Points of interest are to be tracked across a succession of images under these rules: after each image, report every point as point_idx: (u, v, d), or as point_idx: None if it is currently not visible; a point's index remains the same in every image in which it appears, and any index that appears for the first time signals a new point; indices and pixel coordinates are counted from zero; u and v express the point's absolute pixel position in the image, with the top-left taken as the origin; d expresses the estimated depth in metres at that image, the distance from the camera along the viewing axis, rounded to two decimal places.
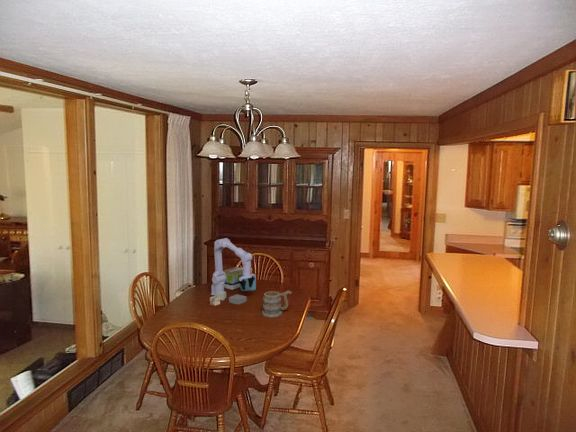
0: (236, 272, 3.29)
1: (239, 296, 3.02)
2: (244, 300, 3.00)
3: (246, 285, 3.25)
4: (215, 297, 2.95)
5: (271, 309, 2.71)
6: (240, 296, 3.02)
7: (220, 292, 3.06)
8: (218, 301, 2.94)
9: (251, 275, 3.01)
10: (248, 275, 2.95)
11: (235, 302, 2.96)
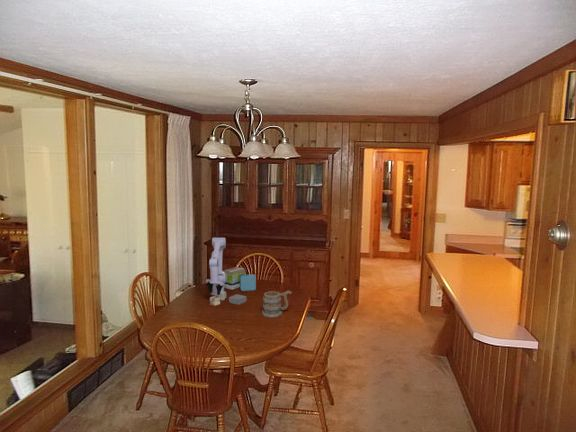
0: (236, 272, 3.29)
1: (239, 296, 3.02)
2: (244, 300, 3.00)
3: (246, 285, 3.25)
4: (215, 297, 2.95)
5: (271, 309, 2.71)
6: (240, 296, 3.02)
7: (220, 292, 3.06)
8: (218, 301, 2.94)
9: (218, 282, 2.90)
10: (210, 280, 2.92)
11: (235, 302, 2.96)
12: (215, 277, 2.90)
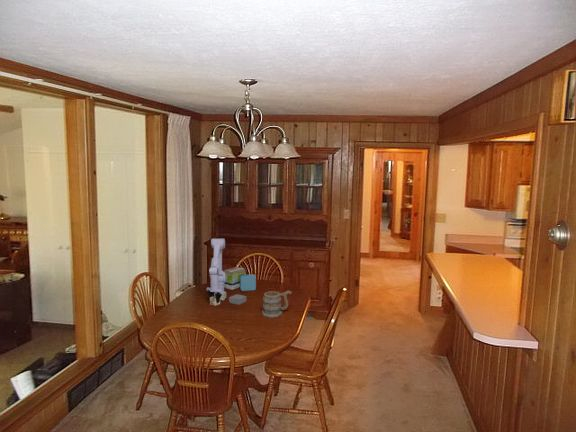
0: (236, 272, 3.29)
1: (239, 296, 3.02)
2: (244, 300, 3.00)
3: (246, 285, 3.25)
4: (215, 297, 2.95)
5: (271, 309, 2.71)
6: (240, 296, 3.02)
7: None
8: None
9: None
10: (211, 288, 2.92)
11: (235, 302, 2.96)
12: (215, 285, 2.91)
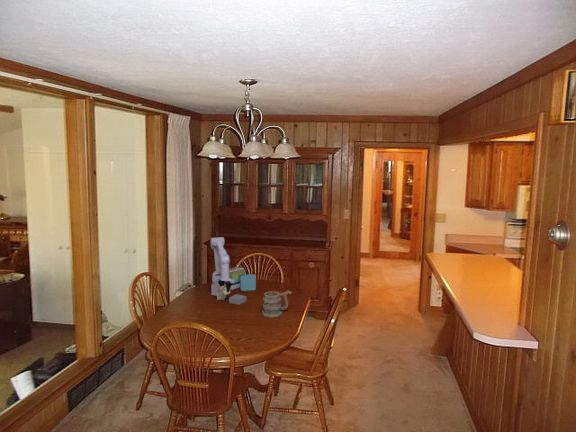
0: (236, 272, 3.29)
1: (239, 296, 3.02)
2: (244, 300, 3.00)
3: (246, 285, 3.25)
4: (225, 286, 2.96)
5: (271, 309, 2.71)
6: (240, 296, 3.02)
7: None
8: None
9: None
10: (221, 277, 2.94)
11: (236, 302, 2.96)
12: (226, 274, 2.92)
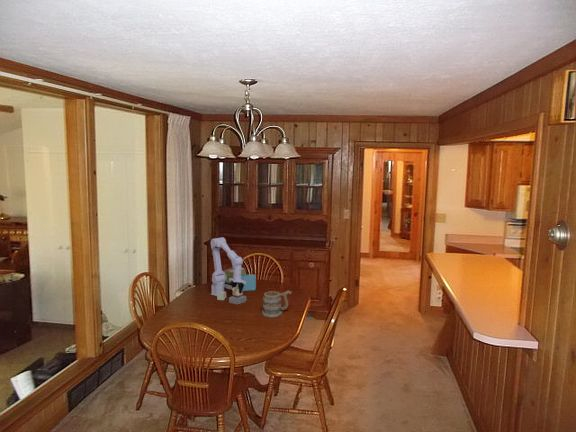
0: None
1: (239, 296, 3.02)
2: (244, 300, 3.00)
3: (246, 285, 3.25)
4: (238, 287, 2.99)
5: (271, 309, 2.71)
6: (240, 296, 3.02)
7: (220, 292, 3.06)
8: None
9: None
10: (233, 278, 2.97)
11: (236, 302, 2.95)
12: (238, 276, 2.95)
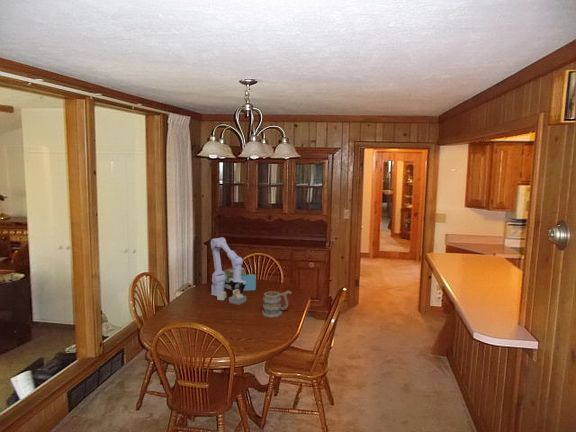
0: None
1: None
2: (244, 300, 3.00)
3: (246, 285, 3.25)
4: (238, 290, 2.99)
5: (271, 309, 2.71)
6: None
7: (220, 292, 3.06)
8: (241, 294, 2.99)
9: None
10: (233, 279, 2.97)
11: (236, 302, 2.95)
12: (238, 276, 2.95)
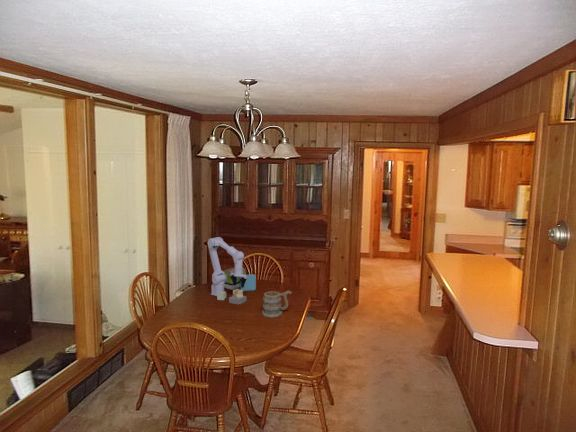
0: None
1: None
2: (244, 300, 3.00)
3: (246, 285, 3.25)
4: (238, 290, 2.99)
5: (271, 309, 2.71)
6: None
7: (220, 292, 3.06)
8: (241, 294, 2.99)
9: (242, 276, 2.98)
10: (235, 273, 3.00)
11: (236, 302, 2.96)
12: (239, 270, 2.98)
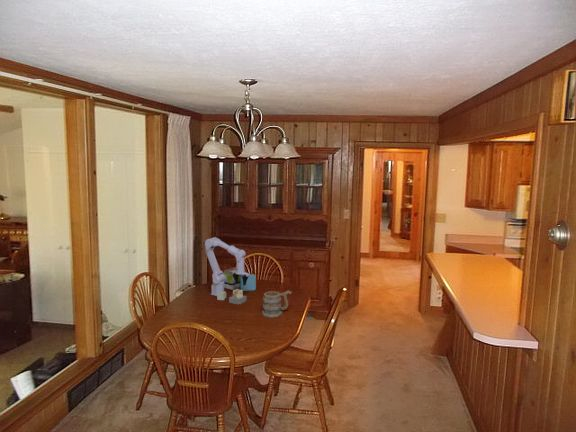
0: None
1: None
2: (244, 300, 3.00)
3: (246, 285, 3.25)
4: (238, 290, 2.99)
5: (271, 309, 2.71)
6: None
7: (220, 292, 3.06)
8: (241, 294, 2.99)
9: (244, 273, 3.04)
10: (237, 271, 3.05)
11: (236, 302, 2.96)
12: (241, 268, 3.04)
